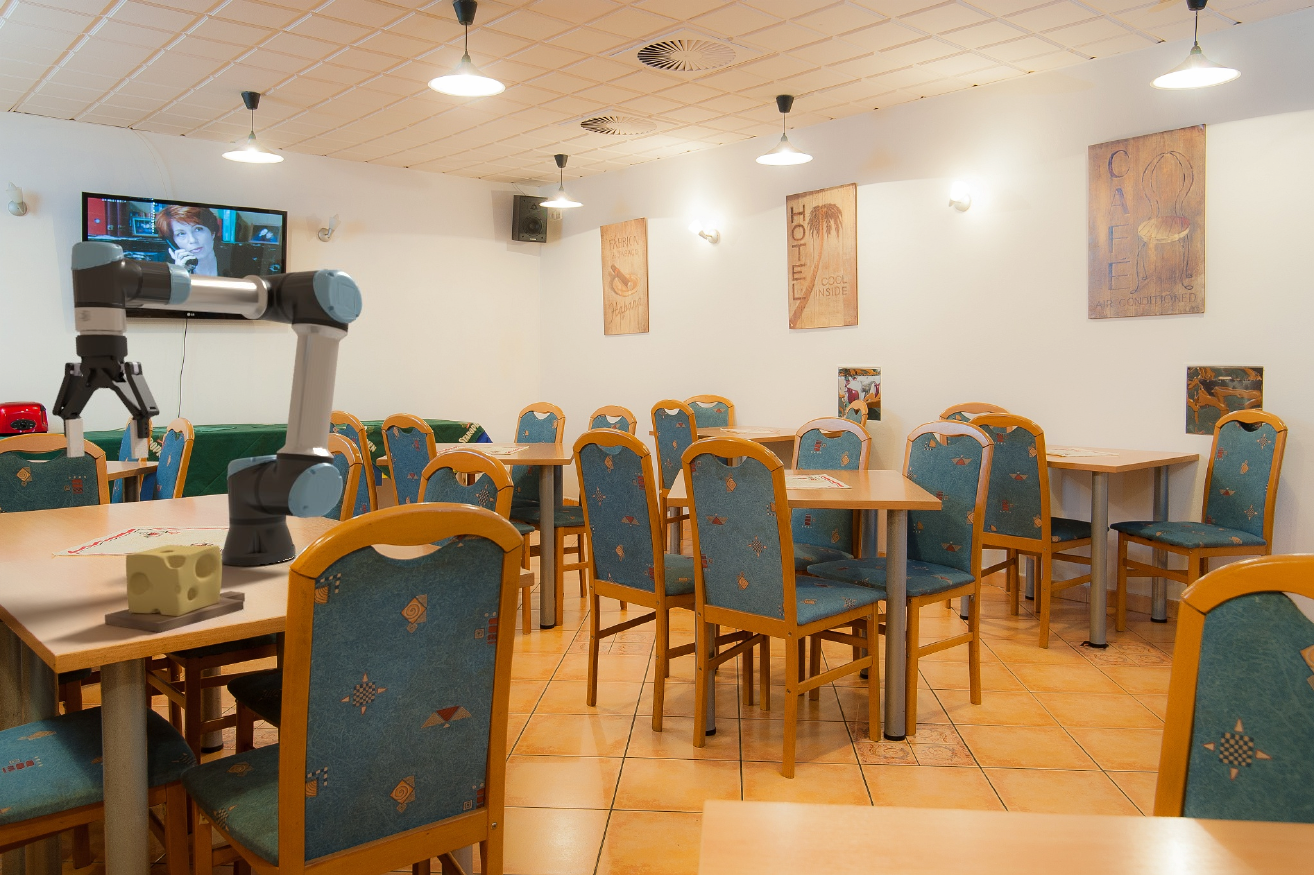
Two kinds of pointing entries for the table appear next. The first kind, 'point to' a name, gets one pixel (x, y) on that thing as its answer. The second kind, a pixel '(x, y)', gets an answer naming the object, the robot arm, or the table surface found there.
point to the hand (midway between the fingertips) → (107, 457)
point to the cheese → (173, 579)
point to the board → (165, 622)
